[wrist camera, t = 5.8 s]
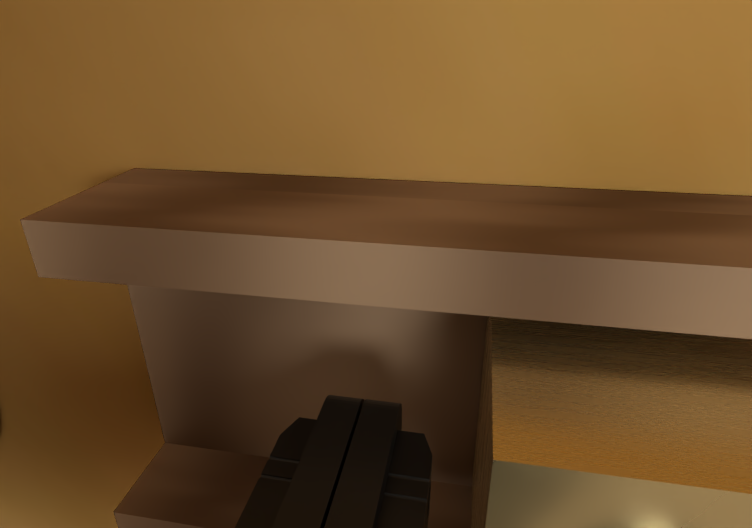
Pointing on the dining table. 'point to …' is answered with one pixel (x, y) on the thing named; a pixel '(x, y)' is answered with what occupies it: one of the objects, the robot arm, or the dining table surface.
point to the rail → (367, 303)
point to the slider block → (612, 428)
